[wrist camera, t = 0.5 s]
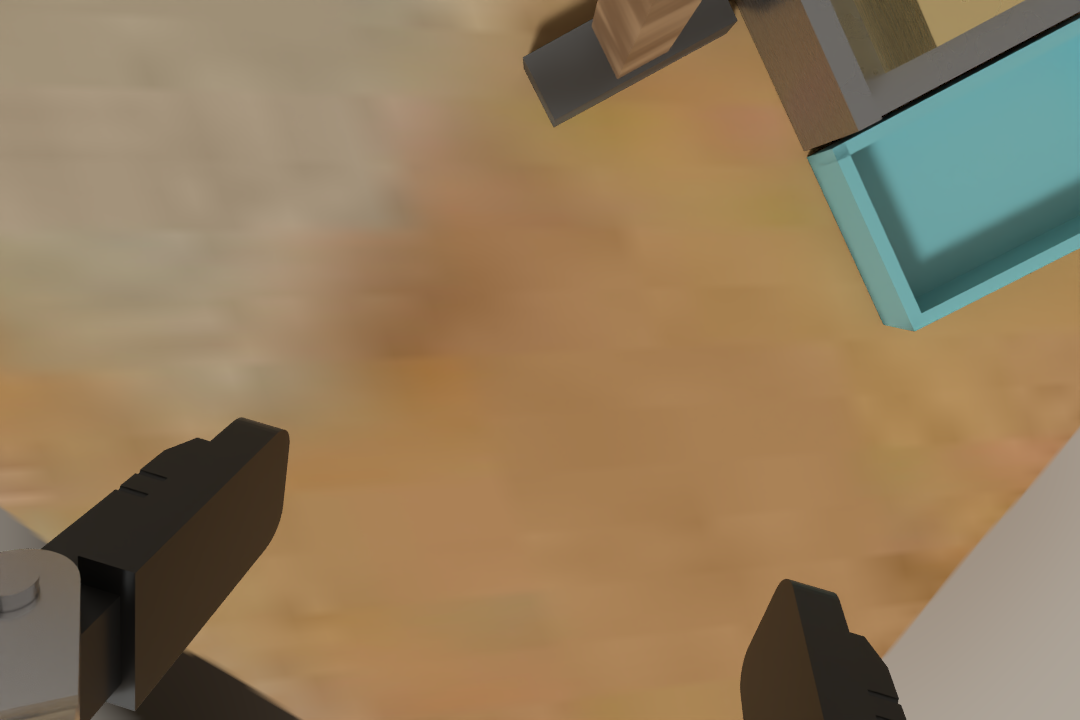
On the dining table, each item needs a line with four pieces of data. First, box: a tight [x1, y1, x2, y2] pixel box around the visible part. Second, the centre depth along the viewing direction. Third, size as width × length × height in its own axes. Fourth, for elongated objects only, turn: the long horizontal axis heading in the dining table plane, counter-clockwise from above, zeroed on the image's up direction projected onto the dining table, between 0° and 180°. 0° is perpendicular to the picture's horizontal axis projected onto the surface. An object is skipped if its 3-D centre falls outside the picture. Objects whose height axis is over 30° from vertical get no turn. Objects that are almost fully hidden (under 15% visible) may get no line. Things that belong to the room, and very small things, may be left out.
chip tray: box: [807, 14, 1080, 331], centre depth 34 cm, size 9×14×3 cm, turn 118°
